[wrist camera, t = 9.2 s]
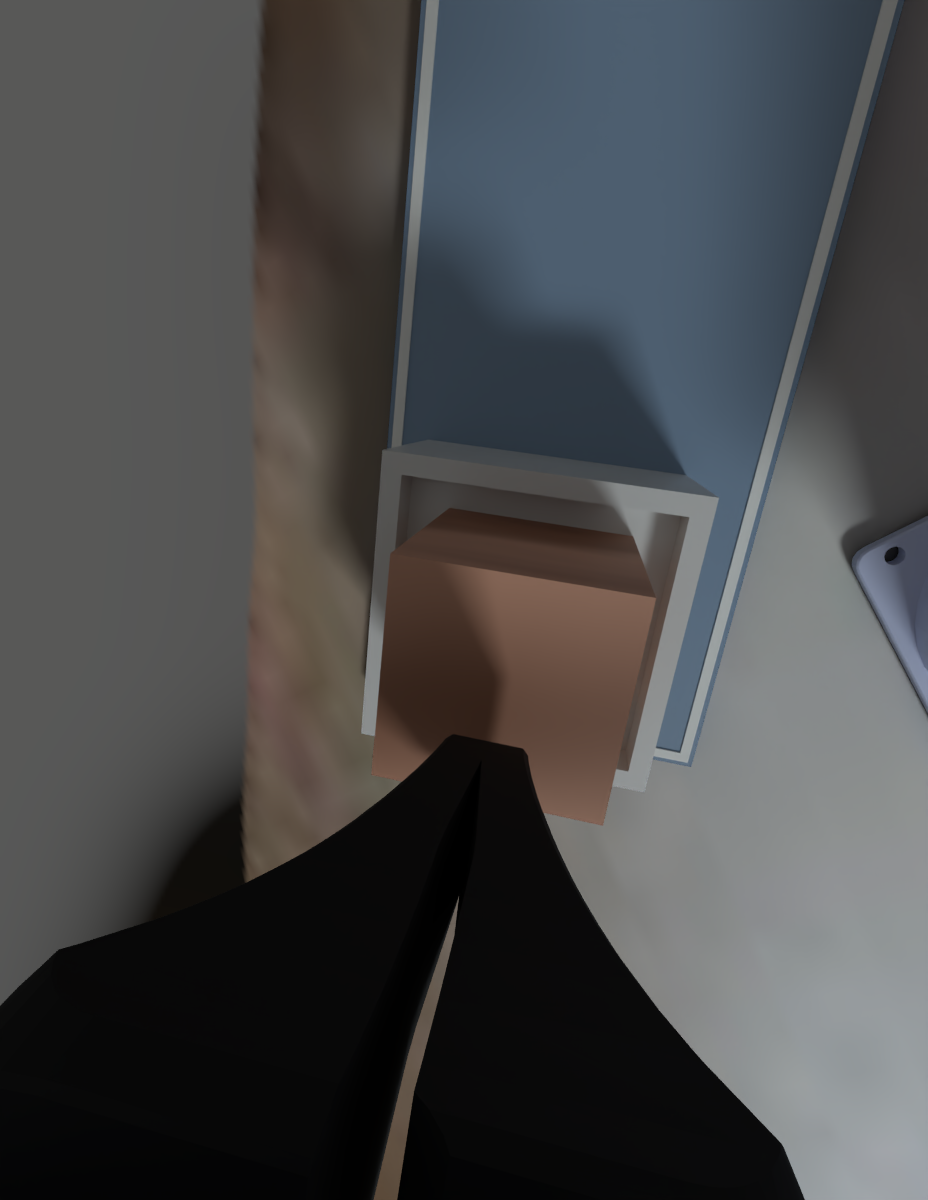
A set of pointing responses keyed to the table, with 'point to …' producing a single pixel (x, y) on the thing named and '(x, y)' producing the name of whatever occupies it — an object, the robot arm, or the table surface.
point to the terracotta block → (514, 650)
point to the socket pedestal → (564, 497)
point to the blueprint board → (631, 245)
